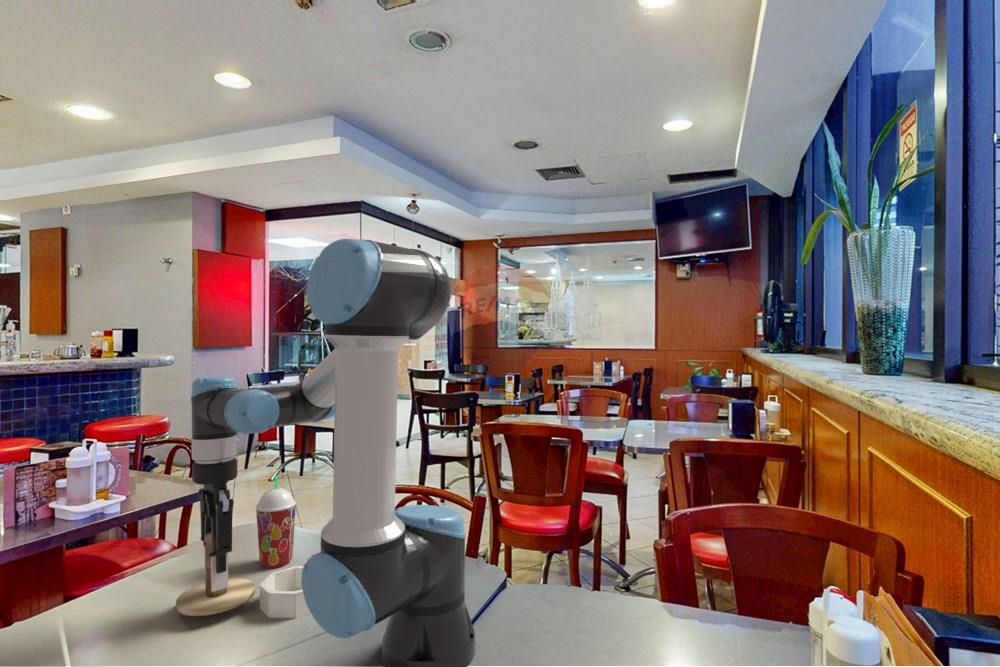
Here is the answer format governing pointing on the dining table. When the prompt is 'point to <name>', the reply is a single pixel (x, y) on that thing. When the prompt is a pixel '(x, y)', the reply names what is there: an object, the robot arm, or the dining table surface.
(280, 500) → the smoothie
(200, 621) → the mat
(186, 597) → the wooden peg stand
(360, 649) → the dining table surface
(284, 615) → the bowl
